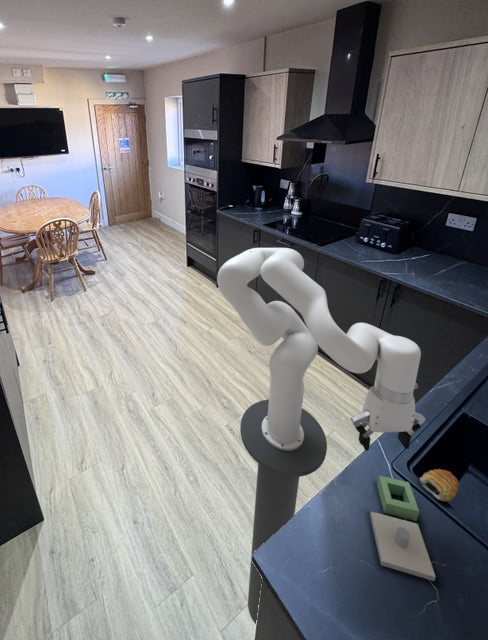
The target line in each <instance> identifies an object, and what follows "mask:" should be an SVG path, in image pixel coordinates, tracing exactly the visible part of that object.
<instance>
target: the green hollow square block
mask: <svg viewBox="0 0 488 640" xmlns="http://www.w3.org/2000/svg"><path fill="white" fill-rule="evenodd" d="M376 488H377V490H378V494H379V498H380V503H381V506H382V509H383V513H384V514H386V515H391V516H395V517H399V518H402V519H406V520H409V521H412V522H417V521H418V517H419V515H420V508H419V507H418V504H417V501H416V497H415V495H414V492H413V490H412V486H411V484H410V482H409V481H405V480H400V479H396V478H391V477H387V476H384V475H378V478H377V482H376ZM392 495H396V496H400V497H402V500H398V499H395V498H392Z"/></svg>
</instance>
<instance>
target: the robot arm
mask: <svg viewBox="0 0 488 640" xmlns="http://www.w3.org/2000/svg"><path fill="white" fill-rule="evenodd" d="M304 267H305V261H304V258H303V256H302V254H301V253H299V252H298V251H297V250H295V249H292V248H289V247H252V248H250V249H247V250H244V251H243V252H241V253H239V254H237V255H235V256H233V257H231V258H229V259H228V260H227V261H225V262H224V263H223V264H222V266H220V268H219V270H218V272H217V277H216V279H217V280H216V282H217V286H218V289H219V292H220V294H221V295H222V296H223V298H224V299H225V301H227V302H228V303H229V304H230V305H231V307H232V308H233V309H234V310H235V312H236V313H237V314H238V317H240V319H241V321H243V323H244V325H245V326H246V328H247V329H248V331H249V332H250V333H251V334H252V336H253V338H254V339H255V340H256V341H257V342H258V343H259V344H260V345H262V346H266V347H270V346H272V345H275V343H277V342H278V341H279V340H281V339H282V340H283V341H281V342H280V343H279V344H278V346H276V348H275V349H274V351H272V353H271V355H270V357H269V360H268V367H269V375H270V376H269V377H270V381H269V392H268V399H269V405H268V416H266V417H265V418H264V420H263V422H262V433H263V436H264V438H265V439H266V440H267V441H268V442H269V443H270V444H271V445H272V446H274V447H275V448H278V449H280V450H285V451H291V450H295V449H297V448H299V447H300V446H301V445H302V443H303V440H304V432H303V429H302V427H301V425H300V419H301V411H302V408H303V403H304V402H303V401H304V394H305V383H304V378H305V374H306V372H307V370H308V369H309V368H310V366H311V365H312V362H313V361H314V360H315V358H316V356H317V354H318V351H319V348H320V349H321V350H322V351H323V352H324V353H325V354H326V355H327V356H329V357H330V359H332V360H333V362H335V363H336V364H338V365H339V366H340V367H342V368H343V369H344V370H347V371H348V372H351V373H352V374H353V373H354V374H364V373H366V372H368V371H370V370H371V369H372V368H373V365H374V363H375V361H377V365H376V372H375V378H374V385H373V386H372V385H371V386H370V388H369V389H368V391H367V393H366V396H365V399H364V403H363V405H362V412H361V413H358V414H355V415H354V416H352V417H350V420H351V423H352V425H353V426H354V428H355V430H356V431H357V432H358V443H359V445H360V446H361V445H362V448H363V449H364V451H366V452H367V451H369V450H370V445H371V437H370V436H371V435H372V434H374V433H377V434H378V433H380V434H381V433H397V439H398V441H399V442H400V444H401V445H402V447H403V448H404V449H405V450H409V449H410V445H411V441H412V437H413V436H415V435H416V433H415V432H417V431H418V430H420V429H421V428H422V425H423V424H424V423H425V421H426V420H427V418H425V416H424V415H423V413H422V414H421V413H419V412H417V411H416V399H415V396H414V392H415V389H419V385H418V383H417V382H416V381H417V377H418V372H419V367H420V362H421V356H422V351H421V348H420V346H419V345H418V344H417V343H416V342H415V341H413V340H411V339H409V338H407V337H404V336H402V335H401V336H400V335H393V334H392V333H389V332H387V331H385V330H383V329H381V328H378V327H377V326H375V325H372V324H369V323H366V322H356V323H354V324H352V325H351V326H350V328H349V329H348V330H347V332H345V331H343V329H341V328H340V327H339V325H338V324H337V323H336V322H335V320H334V319H333V317H332V315H331V312H330V310H329V305H328V298H327V293H326V291H325V289H324V288H323V287H322V286H321V285H320V284H318V283H317V282H316V281H315V280H314V279H312V278H311V277H310V276H308V274H306V273H305V272H304V271H303V270H304ZM260 276H261V279H263V281H264V282H265V283H266V284H267V285H268V286H269V287H270V288H272V289H273V290H274V291H276V293H277V294H278V295H280V296H281V297H282V298H283V299H284V300H285V301H286V302H283V301H281V300H273V301H270V302H268V303H266V302H265V300H264V299H263V297H262V296H261V294H259V293H258V291H256V290H254V289H253V288H251V287H249V286H248V284H249V283H250V282H251V281H253V280H254V279H256V278H258V277H260ZM287 303H288V304H287ZM289 304H290V305H291V306H290V305H289ZM292 307H293V308H294V309H296V311H298V313H300V315H301V316H302V318H303V320H304V321H303V320H302V318H301V317H300V316H299V315H298V313H296V311H295V310H294V309H293V308H292ZM367 427H368V428H367ZM366 428H367V429H366Z"/></svg>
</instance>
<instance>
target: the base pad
mask: <svg viewBox="0 0 488 640" xmlns="http://www.w3.org/2000/svg"><path fill="white" fill-rule="evenodd" d="M369 517H370V521H371V527H372V530H373V535H374V540H375V544H376V548H377V553H378V557H379V558H378V559H379V561H380V565H381V566H382V567H386V568H389V569H392V570H394V571H395V570H396V571H399V572H403V573H406V574H409V575H412V576H416V577H419V578H421V579H425V580H428V581H432V582H435V580H436V578H437V576H436V574H435V571H434V568H433V564H432V562H431V559H430V555H429V553H428V550H427V547H426V545H425V544H426V543H425V541H424V537H423V535H422V532H421V529H420V527H419V526H420V525H419V523H416V522H414V521H410V520H405V519H401V518H397V517H393V516H389V515H387V514H382V513H378V512H376V511H375V512H374V511H370V513H369Z"/></svg>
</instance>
